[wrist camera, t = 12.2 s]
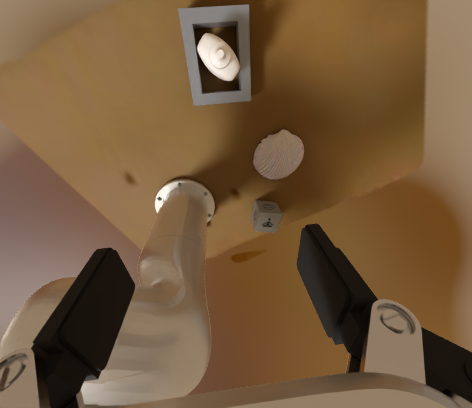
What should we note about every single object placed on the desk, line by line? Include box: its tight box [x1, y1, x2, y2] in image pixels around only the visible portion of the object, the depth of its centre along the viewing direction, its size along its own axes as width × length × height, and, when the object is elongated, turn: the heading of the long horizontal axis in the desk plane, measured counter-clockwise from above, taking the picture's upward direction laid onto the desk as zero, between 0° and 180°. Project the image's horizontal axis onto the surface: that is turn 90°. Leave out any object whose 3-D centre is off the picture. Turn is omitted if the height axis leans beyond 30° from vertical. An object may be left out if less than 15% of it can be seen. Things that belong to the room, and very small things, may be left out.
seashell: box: [253, 129, 304, 180], centre depth 38 cm, size 10×6×10 cm
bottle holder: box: [178, 4, 251, 106], centre depth 29 cm, size 11×9×3 cm
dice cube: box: [251, 200, 283, 233], centre depth 44 cm, size 5×5×5 cm
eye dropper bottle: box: [197, 33, 240, 81], centre depth 25 cm, size 4×6×12 cm
